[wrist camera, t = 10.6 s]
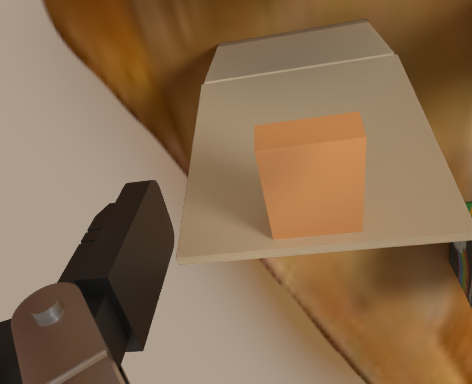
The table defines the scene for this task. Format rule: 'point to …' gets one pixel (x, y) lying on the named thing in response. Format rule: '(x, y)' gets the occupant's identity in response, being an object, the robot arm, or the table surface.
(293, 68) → the carton
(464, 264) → the chalk box
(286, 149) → the carton lid
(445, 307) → the table surface
